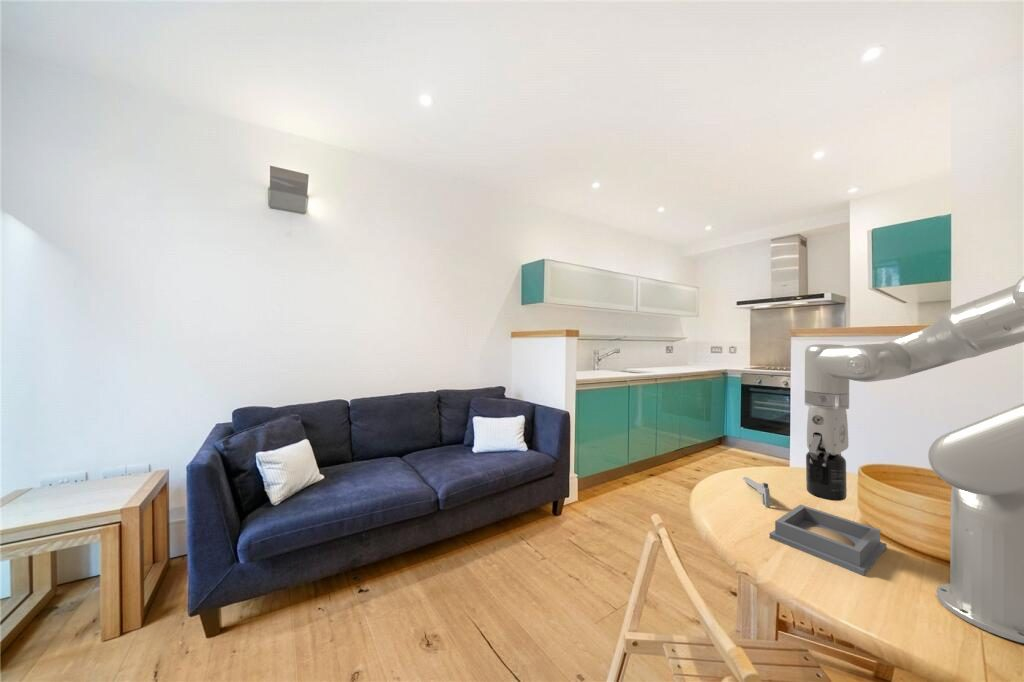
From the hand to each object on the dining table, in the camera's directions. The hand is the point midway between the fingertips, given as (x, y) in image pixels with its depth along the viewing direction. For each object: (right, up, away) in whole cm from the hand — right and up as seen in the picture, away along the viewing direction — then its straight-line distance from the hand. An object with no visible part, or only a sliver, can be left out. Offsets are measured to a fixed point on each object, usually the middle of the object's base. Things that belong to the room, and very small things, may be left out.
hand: (825, 478), depth 81 cm
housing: (0, -15, 0) cm, 15 cm away
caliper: (+2, -15, +27) cm, 30 cm away
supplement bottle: (0, -4, 0) cm, 4 cm away
